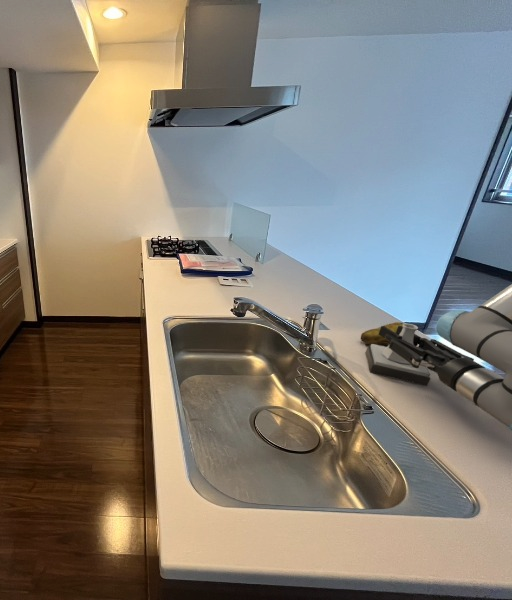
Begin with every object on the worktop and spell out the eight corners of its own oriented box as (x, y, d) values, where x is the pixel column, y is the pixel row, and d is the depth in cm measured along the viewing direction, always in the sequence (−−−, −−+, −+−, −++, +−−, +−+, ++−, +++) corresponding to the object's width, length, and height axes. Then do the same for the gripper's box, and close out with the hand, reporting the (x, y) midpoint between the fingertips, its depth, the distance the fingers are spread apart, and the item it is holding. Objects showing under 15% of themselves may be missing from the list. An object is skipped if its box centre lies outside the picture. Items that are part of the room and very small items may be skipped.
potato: (355, 334, 108) (362, 313, 105) (404, 343, 102) (413, 321, 99) (359, 346, 101) (367, 323, 98) (412, 356, 96) (421, 333, 93)
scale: (419, 364, 92) (423, 353, 91) (430, 387, 83) (435, 376, 81) (365, 352, 98) (368, 342, 97) (369, 372, 89) (373, 361, 87)
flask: (411, 354, 90) (424, 323, 86) (418, 367, 85) (432, 334, 81) (379, 348, 94) (390, 317, 90) (383, 360, 88) (395, 328, 84)
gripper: (425, 394, 72) (355, 341, 94) (503, 394, 72) (415, 341, 93) (438, 366, 69) (363, 318, 91) (520, 366, 69) (424, 318, 90)
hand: (389, 330), depth 92 cm, fingers open, 4 cm apart
